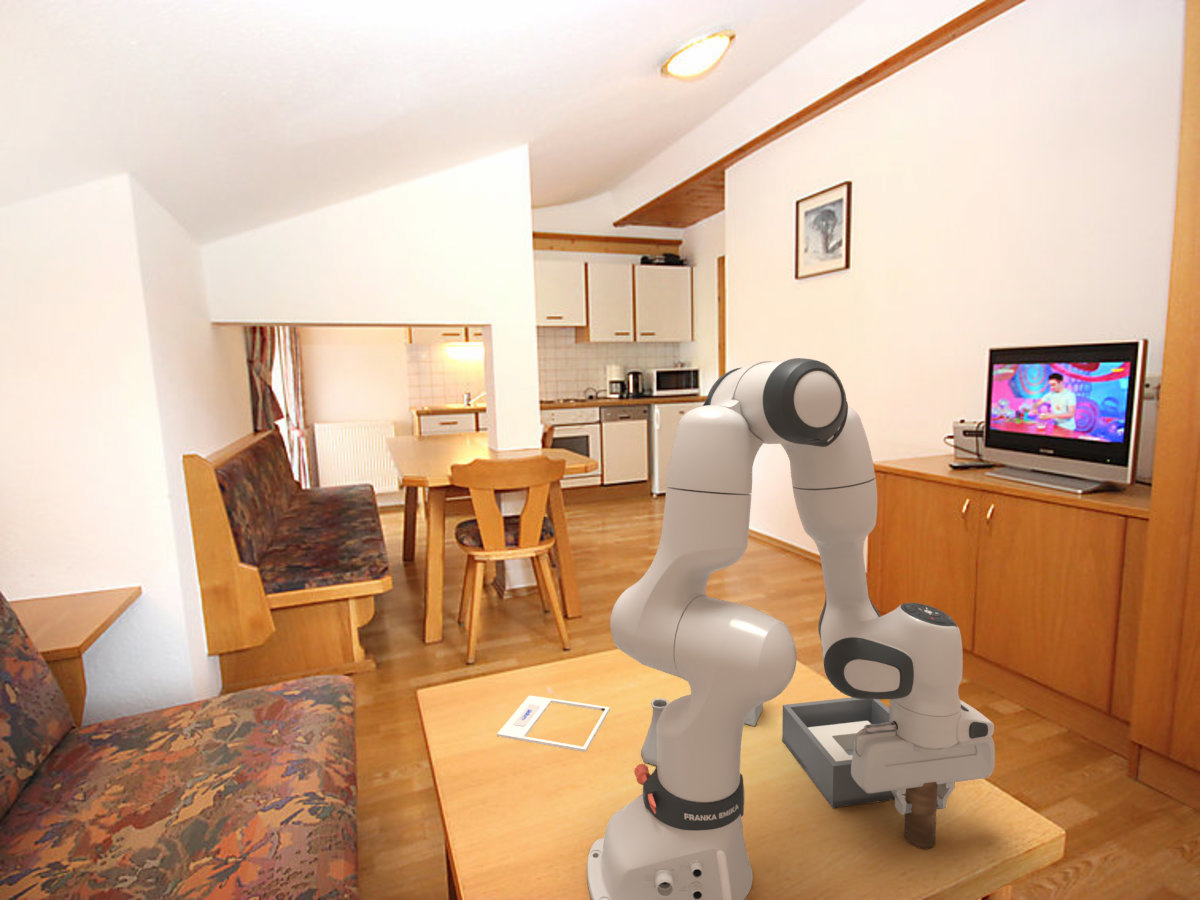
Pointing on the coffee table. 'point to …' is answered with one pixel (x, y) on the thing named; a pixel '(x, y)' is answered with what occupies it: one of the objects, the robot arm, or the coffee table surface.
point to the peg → (921, 816)
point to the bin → (832, 744)
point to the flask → (653, 732)
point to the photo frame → (532, 712)
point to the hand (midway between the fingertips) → (920, 808)
